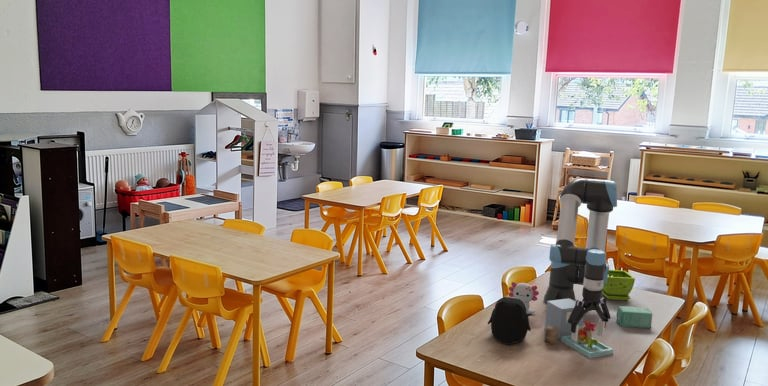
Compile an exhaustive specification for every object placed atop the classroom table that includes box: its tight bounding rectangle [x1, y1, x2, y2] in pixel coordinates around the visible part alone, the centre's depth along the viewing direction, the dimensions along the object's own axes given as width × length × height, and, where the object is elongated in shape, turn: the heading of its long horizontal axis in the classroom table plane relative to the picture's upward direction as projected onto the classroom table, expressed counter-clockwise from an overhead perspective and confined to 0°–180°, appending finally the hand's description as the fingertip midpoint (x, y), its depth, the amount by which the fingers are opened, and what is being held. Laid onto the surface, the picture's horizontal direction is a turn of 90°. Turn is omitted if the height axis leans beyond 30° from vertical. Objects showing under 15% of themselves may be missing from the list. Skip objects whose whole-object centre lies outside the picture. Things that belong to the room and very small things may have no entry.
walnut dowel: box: [544, 326, 558, 346], centre depth 258 cm, size 5×5×6 cm
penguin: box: [487, 296, 532, 345], centre depth 259 cm, size 18×18×17 cm
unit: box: [544, 298, 585, 339], centre depth 268 cm, size 11×12×13 cm
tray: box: [560, 335, 614, 359], centre depth 255 cm, size 17×12×2 cm
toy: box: [508, 281, 540, 315], centre depth 287 cm, size 14×8×15 cm, turn 68°
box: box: [615, 305, 653, 329], centre depth 281 cm, size 7×14×8 cm, turn 86°
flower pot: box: [602, 269, 636, 301], centre depth 317 cm, size 14×14×13 cm
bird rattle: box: [577, 320, 599, 349], centre depth 254 cm, size 6×11×9 cm
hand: (587, 337), depth 254 cm, fingers open, 13 cm apart
